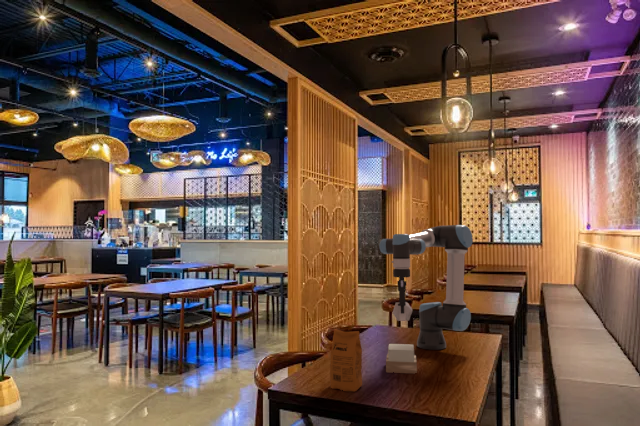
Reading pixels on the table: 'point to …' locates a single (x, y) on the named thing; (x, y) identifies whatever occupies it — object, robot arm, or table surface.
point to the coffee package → (346, 361)
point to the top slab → (401, 352)
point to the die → (396, 311)
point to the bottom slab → (401, 366)
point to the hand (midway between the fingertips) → (402, 318)
